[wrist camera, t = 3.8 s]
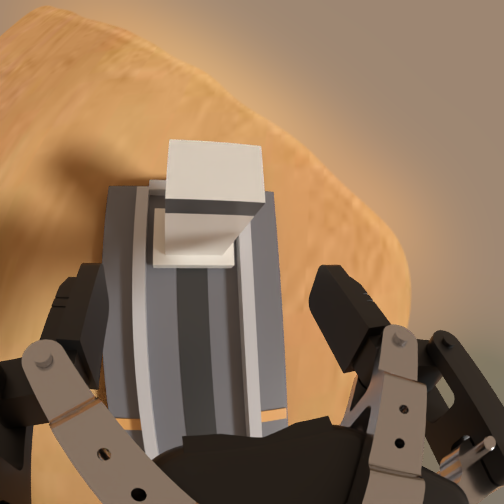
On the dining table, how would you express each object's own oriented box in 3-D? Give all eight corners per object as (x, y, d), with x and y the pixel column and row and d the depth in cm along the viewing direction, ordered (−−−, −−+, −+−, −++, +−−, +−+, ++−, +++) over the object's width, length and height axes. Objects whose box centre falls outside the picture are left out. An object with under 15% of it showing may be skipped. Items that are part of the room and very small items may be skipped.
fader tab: (153, 267, 18) (142, 214, 9) (155, 213, 19) (151, 126, 10) (231, 268, 20) (286, 219, 11) (229, 215, 21) (277, 136, 12)
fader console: (121, 467, 16) (118, 479, 14) (111, 191, 20) (106, 179, 18) (283, 455, 19) (294, 464, 17) (269, 197, 23) (278, 186, 21)
